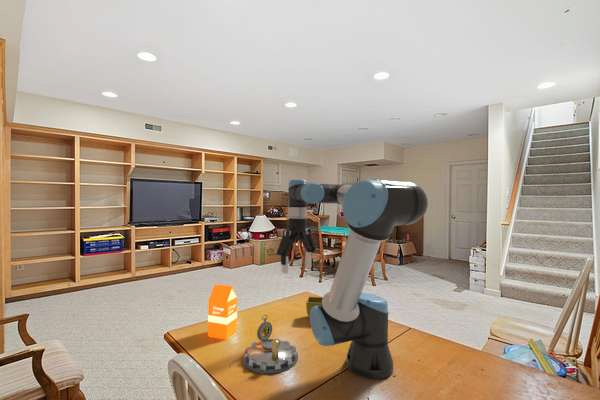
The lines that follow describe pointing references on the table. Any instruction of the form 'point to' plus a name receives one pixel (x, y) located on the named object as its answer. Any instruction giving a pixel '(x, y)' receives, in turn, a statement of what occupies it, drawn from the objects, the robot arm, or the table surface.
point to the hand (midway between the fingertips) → (297, 270)
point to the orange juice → (222, 312)
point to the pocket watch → (265, 334)
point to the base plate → (272, 370)
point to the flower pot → (312, 303)
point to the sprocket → (270, 355)
